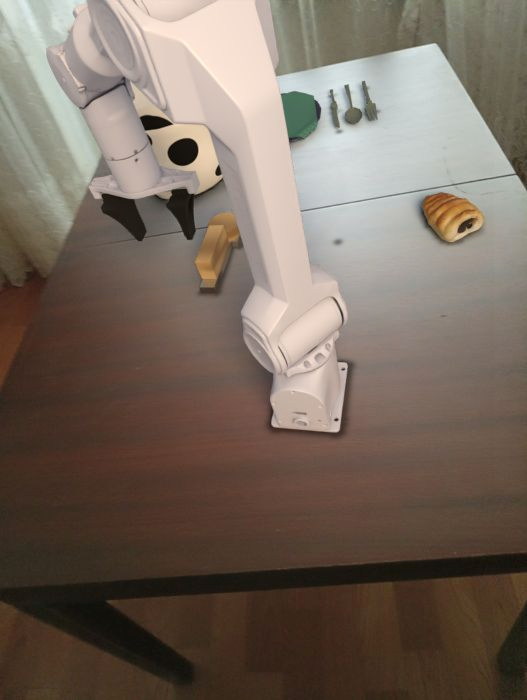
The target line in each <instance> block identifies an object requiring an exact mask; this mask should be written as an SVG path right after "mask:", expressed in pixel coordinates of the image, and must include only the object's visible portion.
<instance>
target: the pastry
mask: <svg viewBox="0 0 527 700" xmlns="http://www.w3.org/2000/svg"><path fill="white" fill-rule="evenodd" d="M421 203H422V204H421V208H422V210H423V214H424V217H425V218H426V220H427V224H428V226H429V227H431V229H432V230H433V231H434V233H436V234H437V236H438V237H439V238H440V239H441V240H442V241H445V242H448V243H454V242H456V241H459V240H460V239H462V238H464V237H465V236H467V235H468V234H470V233H473V232H475V231H478V230H479V229H481V227H482V226H483V225H484V221H485V216H484V215H483V212H482V211H481V210H479V207H477V206H476V205H475V204H473V203H472V202H470V201H469V199H468V198H465V197H459V196H456V195H454V194H453V193H449V192H442V191H441V192H437V193H433V194H430V195H426V196H424V199H423V201H422V202H421Z"/></svg>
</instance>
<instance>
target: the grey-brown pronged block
mask: <svg viewBox="0 0 527 700" xmlns="http://www.w3.org/2000/svg"><path fill="white" fill-rule="evenodd" d="M241 244H242V239H241V236H240V235H239V237H237V238H236V239H235V240H233V241H231V242H229V246H228V248H227V251H226V254H225V257H224V260H223V263H222V266H221V268H220V271H219V274H218V277H217V279H202V278H201V282H200V284H199V289H200V292H201V293H202V294H203V293H204V294H207V293H209V294H211V293H212V294H216V293H218V289H219V286H220V284H221V281H222V278H223V275H224V272H225V270H226V267H227V265H228V264H227V263H228V260H229V258H230V255H231V251H232V249H233V248H240V246H241Z"/></svg>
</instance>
